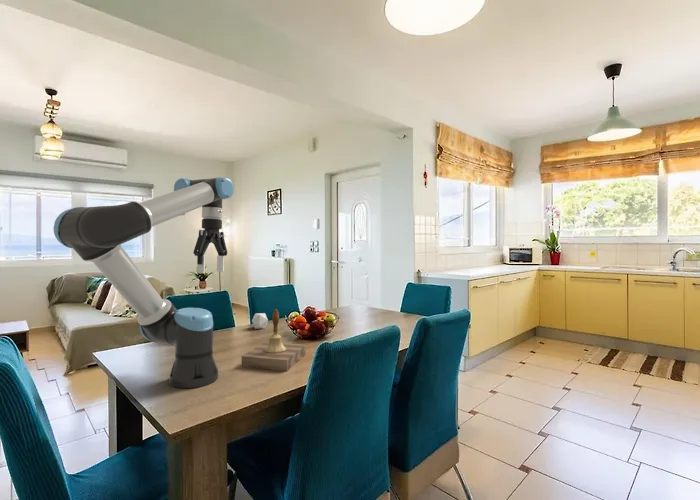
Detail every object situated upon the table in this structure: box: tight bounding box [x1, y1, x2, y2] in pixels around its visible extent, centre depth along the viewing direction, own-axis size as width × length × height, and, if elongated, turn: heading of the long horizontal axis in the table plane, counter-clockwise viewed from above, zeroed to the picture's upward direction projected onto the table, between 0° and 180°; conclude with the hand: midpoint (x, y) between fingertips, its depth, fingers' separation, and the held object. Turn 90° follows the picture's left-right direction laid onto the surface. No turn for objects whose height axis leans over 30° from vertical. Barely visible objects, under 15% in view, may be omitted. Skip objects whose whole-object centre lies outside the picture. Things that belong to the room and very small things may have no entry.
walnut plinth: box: [241, 341, 307, 372], centre depth 144 cm, size 20×18×4 cm
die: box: [251, 312, 269, 330], centre depth 196 cm, size 8×9×10 cm
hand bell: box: [265, 308, 286, 353], centre depth 144 cm, size 8×8×16 cm
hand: (211, 272), depth 146 cm, fingers open, 13 cm apart
